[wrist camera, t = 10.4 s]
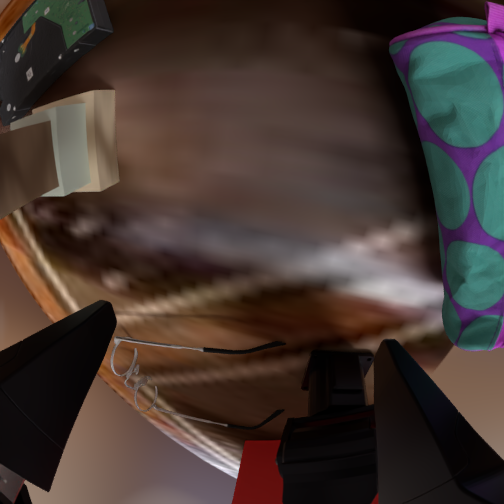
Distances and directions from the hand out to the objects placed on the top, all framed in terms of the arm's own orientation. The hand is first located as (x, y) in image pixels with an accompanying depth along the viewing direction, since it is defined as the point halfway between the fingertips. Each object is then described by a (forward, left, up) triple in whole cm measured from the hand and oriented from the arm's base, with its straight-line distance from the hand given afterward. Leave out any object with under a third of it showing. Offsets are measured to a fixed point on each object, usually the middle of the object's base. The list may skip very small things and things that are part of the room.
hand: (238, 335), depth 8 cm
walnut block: (+5, +16, -7) cm, 18 cm away
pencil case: (+4, -14, -13) cm, 19 cm away
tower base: (+5, +16, -13) cm, 21 cm away
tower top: (+5, +16, -10) cm, 19 cm away
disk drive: (+16, +21, -13) cm, 30 cm away
